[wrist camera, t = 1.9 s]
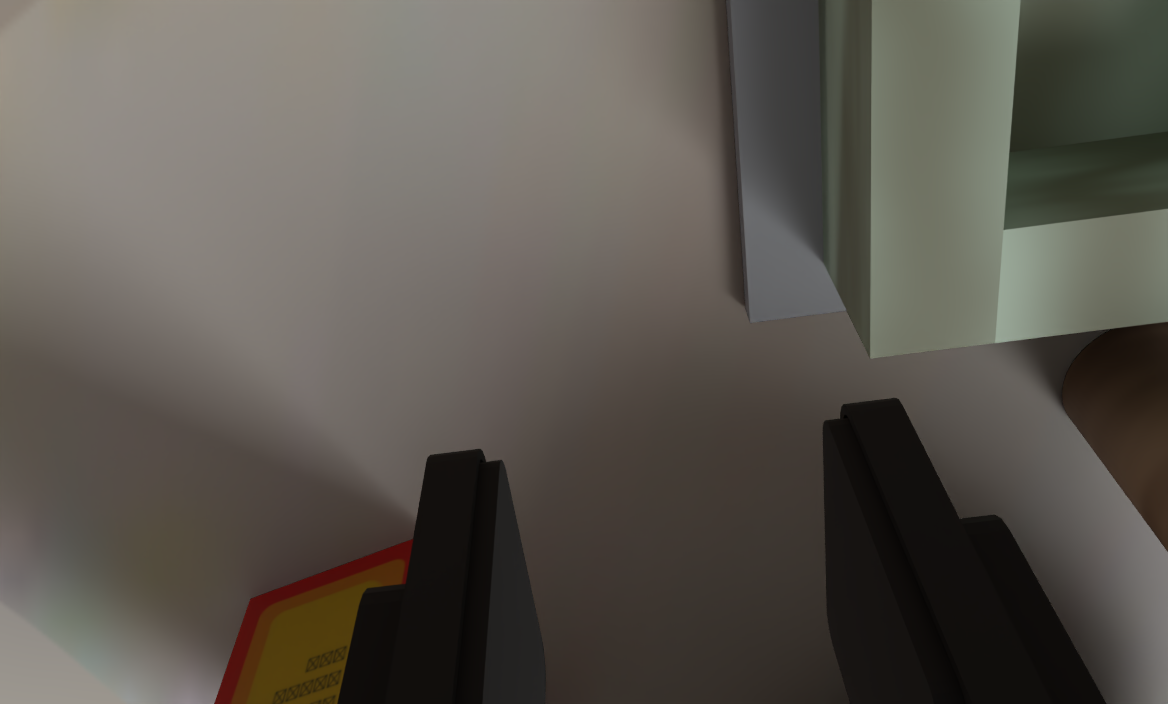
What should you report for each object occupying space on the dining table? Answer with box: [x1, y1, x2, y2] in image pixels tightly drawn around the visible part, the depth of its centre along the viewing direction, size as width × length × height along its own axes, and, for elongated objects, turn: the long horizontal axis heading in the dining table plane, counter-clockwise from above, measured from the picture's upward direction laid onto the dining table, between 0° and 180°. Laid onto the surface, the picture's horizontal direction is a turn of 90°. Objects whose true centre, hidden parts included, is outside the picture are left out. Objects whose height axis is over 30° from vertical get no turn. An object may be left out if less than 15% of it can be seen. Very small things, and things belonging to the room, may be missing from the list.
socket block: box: [818, 0, 1168, 359], centre depth 23 cm, size 11×11×5 cm
